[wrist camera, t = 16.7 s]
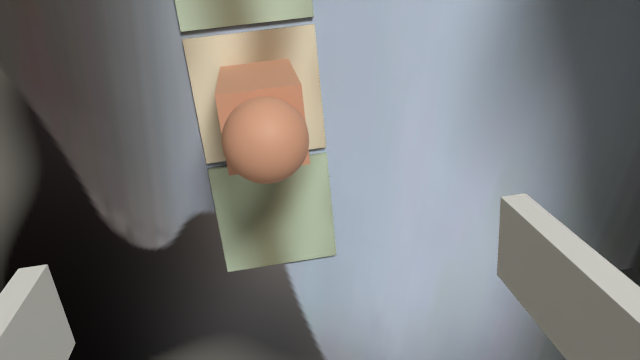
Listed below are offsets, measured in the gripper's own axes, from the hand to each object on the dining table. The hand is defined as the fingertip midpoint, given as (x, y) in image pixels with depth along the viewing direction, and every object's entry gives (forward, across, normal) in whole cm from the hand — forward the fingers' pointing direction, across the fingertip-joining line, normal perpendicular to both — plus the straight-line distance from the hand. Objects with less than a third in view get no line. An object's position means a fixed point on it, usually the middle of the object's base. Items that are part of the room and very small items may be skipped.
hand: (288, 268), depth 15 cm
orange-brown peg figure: (+22, 0, 0) cm, 22 cm away
